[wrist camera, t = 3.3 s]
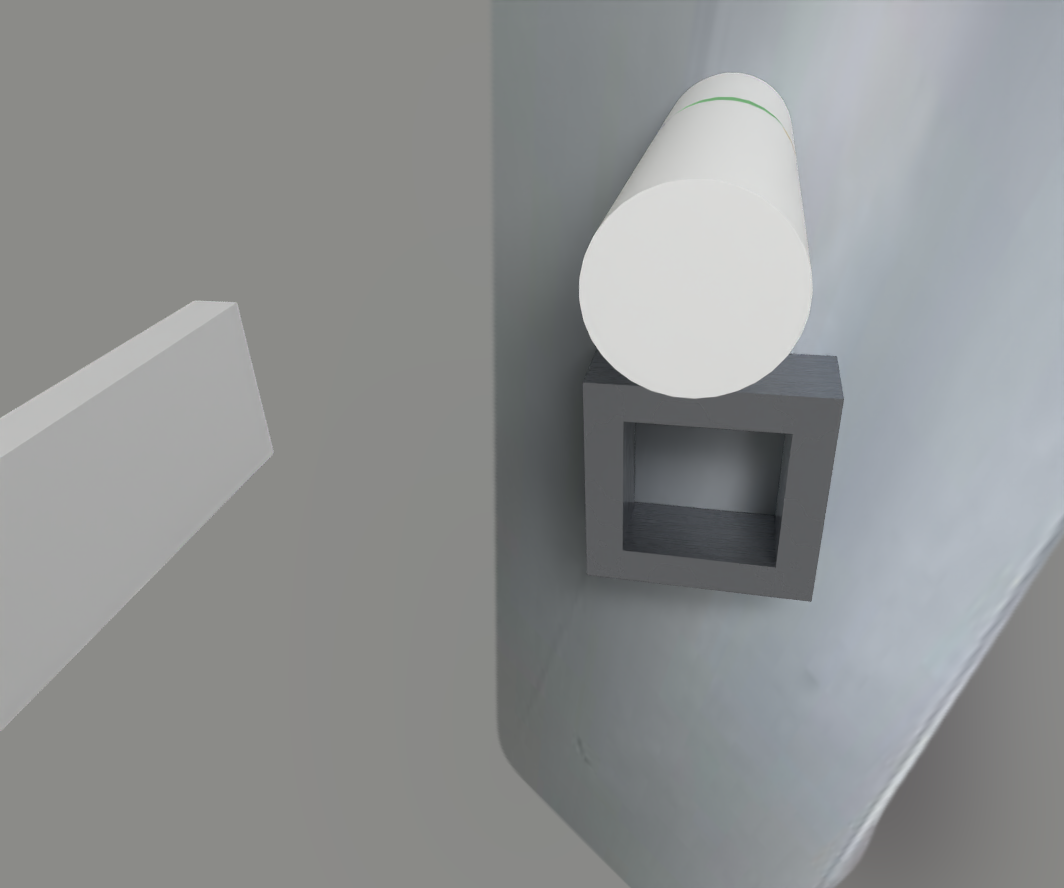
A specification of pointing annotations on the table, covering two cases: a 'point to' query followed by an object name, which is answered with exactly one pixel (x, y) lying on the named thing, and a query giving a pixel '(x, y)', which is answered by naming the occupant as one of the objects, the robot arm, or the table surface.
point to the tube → (704, 248)
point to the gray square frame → (702, 534)
